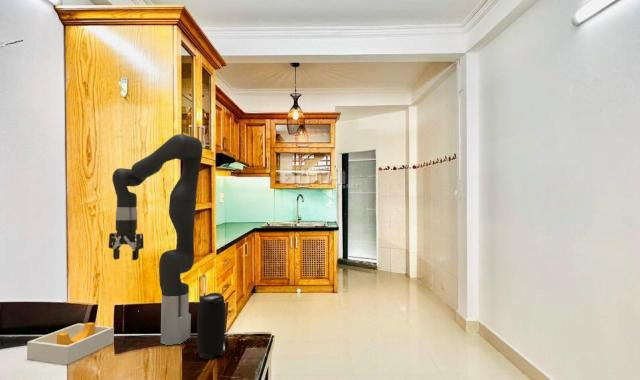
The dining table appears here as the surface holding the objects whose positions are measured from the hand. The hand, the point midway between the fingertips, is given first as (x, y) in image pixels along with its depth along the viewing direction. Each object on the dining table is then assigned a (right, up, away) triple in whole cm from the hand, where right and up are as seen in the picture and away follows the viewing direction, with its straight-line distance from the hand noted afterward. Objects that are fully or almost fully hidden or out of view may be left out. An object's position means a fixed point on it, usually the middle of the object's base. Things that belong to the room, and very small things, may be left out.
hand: (125, 259), depth 141 cm
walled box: (-7, -27, -20) cm, 34 cm away
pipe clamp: (-6, -26, -20) cm, 34 cm away
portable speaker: (+41, -27, -23) cm, 54 cm away
